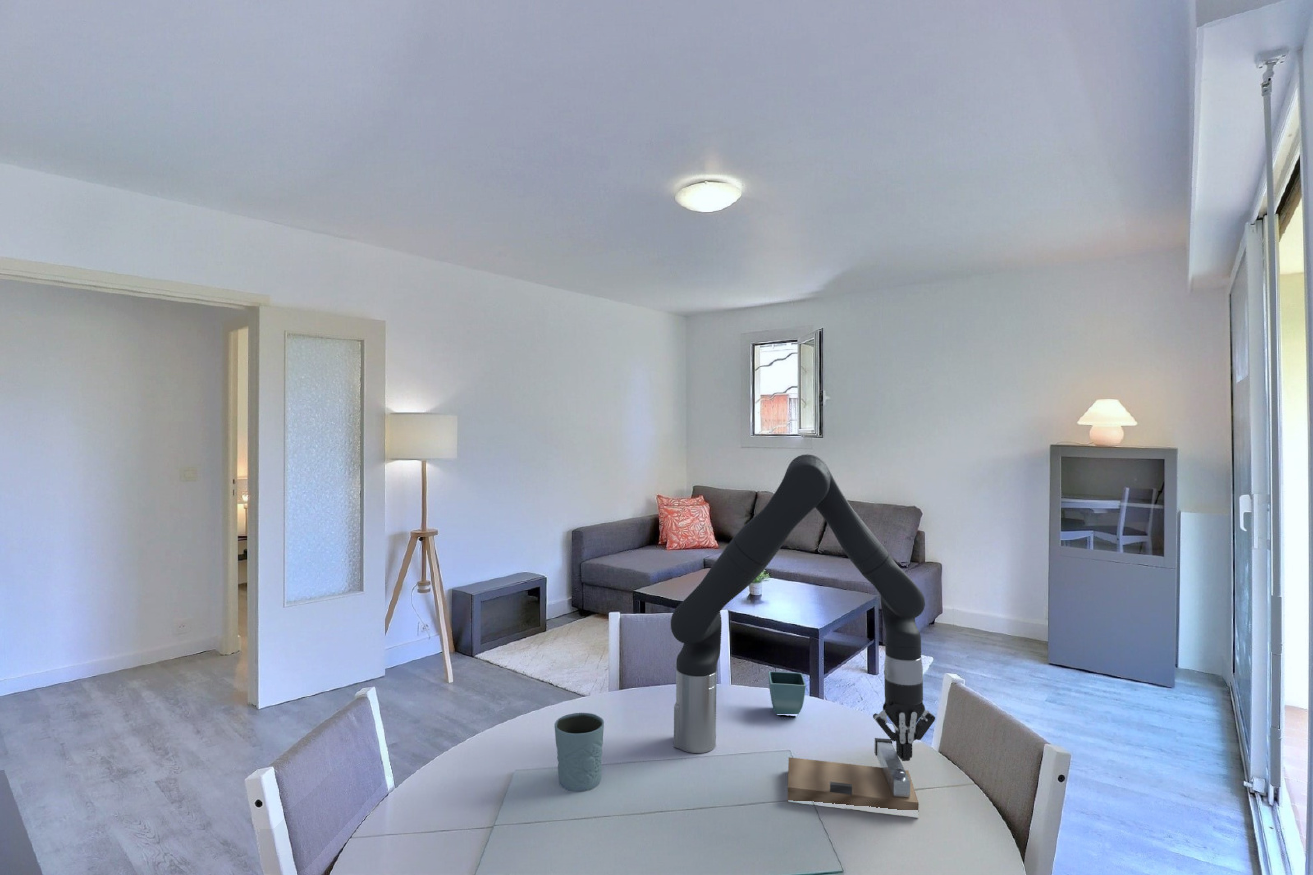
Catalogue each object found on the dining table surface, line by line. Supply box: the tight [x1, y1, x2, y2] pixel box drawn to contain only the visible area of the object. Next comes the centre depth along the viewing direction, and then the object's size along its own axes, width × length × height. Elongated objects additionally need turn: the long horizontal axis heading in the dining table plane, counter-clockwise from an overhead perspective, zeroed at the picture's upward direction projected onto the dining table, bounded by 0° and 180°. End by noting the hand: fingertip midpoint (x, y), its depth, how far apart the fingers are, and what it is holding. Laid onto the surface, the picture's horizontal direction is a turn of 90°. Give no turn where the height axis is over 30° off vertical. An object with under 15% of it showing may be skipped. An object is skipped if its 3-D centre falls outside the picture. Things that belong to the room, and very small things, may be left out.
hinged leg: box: [874, 737, 910, 797], centre depth 136 cm, size 17×3×4 cm, turn 173°
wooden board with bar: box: [787, 757, 920, 811], centre depth 134 cm, size 24×12×4 cm, turn 78°
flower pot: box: [768, 670, 807, 715], centre depth 171 cm, size 9×9×9 cm
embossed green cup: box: [553, 712, 605, 793], centre depth 138 cm, size 10×10×12 cm
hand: (904, 759), depth 140 cm, fingers closed
